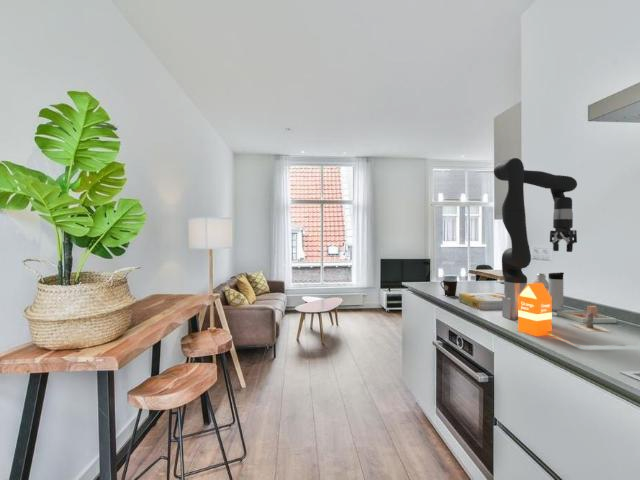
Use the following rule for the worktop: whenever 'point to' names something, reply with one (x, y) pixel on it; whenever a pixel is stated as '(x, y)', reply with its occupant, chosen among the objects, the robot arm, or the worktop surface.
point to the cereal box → (482, 300)
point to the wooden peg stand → (589, 325)
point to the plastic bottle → (542, 280)
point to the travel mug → (556, 290)
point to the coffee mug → (449, 287)
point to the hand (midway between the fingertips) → (562, 251)
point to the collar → (590, 310)
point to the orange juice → (535, 310)
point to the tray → (584, 320)
